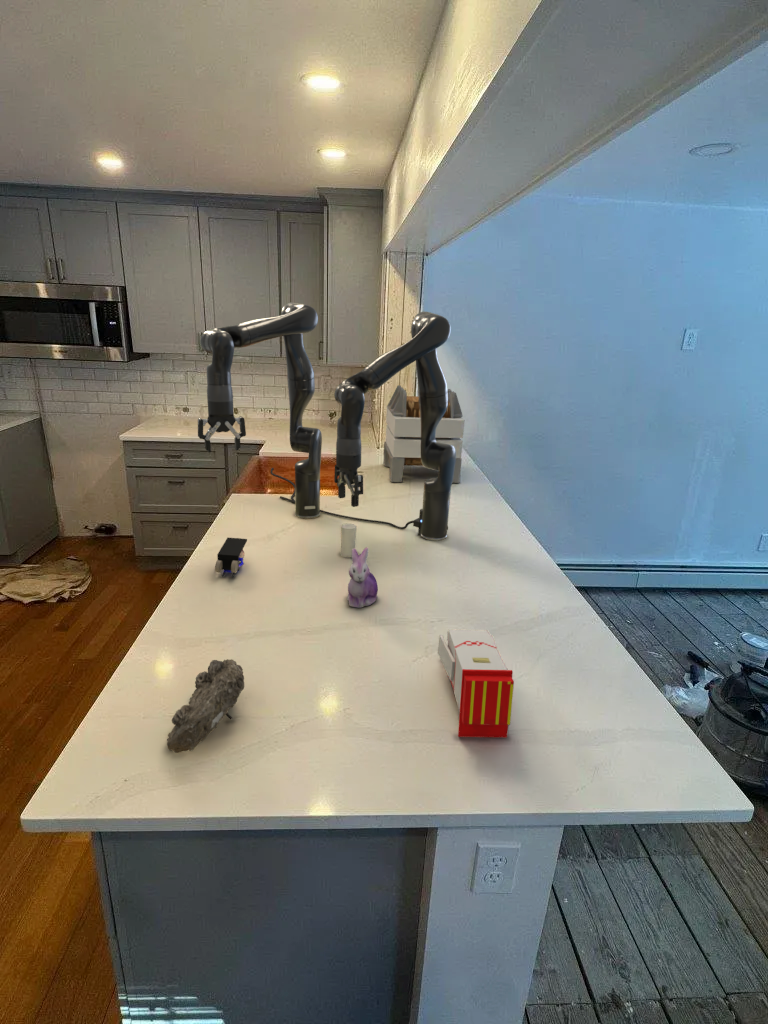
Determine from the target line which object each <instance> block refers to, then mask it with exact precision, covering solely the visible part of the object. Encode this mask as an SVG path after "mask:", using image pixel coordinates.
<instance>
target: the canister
mask: <svg viewBox="0 0 768 1024" xmlns="http://www.w3.org/2000/svg"><path fill="white" fill-rule="evenodd" d="M356 544H357V525H356V524H355V523H352V522H351V523H349V522H347V523H343V524H341V525H340V549H339V550H340V556H341V557H343V558H352V549H354V548H355V549H356V548H357V545H356ZM356 550H357V549H356Z"/></svg>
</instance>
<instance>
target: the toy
mask: <svg viewBox="0 0 768 1024" xmlns="http://www.w3.org/2000/svg"><path fill="white" fill-rule="evenodd" d="M446 640H447V643H446V641H445V639H444V636H443V635H442V634H439V637H438V646H437V656H438V657H439V659H440V661H441V663H442V666H443V668H444V670H445V672H446V674H447V677H448V679H449V681H450V684H451V687H452V690H453V693H454V697H455V701H456V705H457V708H458V711H459V714H458V715H459V716H458V730H457V731H458V732H457V737H458V738H508V731H509V726H510V725H511V717H512V707H513V697H514V696H513V695H514V684H515V680H514V679H513V673H514V671H513V670H512V669H508V667H507V665H506V662H505V661H504V659H503V658H502V655H501V653H500V651H499V649H498V647H497V643H496V639H495V637H494V635H493V634H491V632H490V631H489V629H467V628H466V629H465V628H463V629H461V628H460V629H459V628H448V630H447V639H446Z"/></svg>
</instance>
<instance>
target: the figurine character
mask: <svg viewBox="0 0 768 1024" xmlns="http://www.w3.org/2000/svg"><path fill="white" fill-rule="evenodd" d="M247 542H248V538H240V537H226V539H225V541H224V543H223V544H222V546H221V547H220V549H219V551H218V552H217V560H216V562H215V564H214V572H215V573H221V577H222V578H224V577H225V576H226V574H227V573H230V574H231V573H232V574H231V578H234V577H235V575H236V573H237V572H239V571H240V567H242V566H243V565H244V564H245V562H244V558H245V551H244V547H245V546H246V544H247Z"/></svg>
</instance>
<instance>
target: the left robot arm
mask: <svg viewBox="0 0 768 1024" xmlns="http://www.w3.org/2000/svg"><path fill="white" fill-rule="evenodd" d="M318 323H319V317H318V312H317V310H316V309H315V308H314V307H313V306H311V305H309V304H306V303H300V302H293V301H292V302H291V301H290V302H287V303H285V304H284V305H283V307H282V309H281V313H280V315H277V316H271V317H270V316H269V317H263V318H261V317H260V318H253V319H250V320H246V321H242V322H239V323H236V324H233V325H226V326H220V327H215V328H211V329H207V330H205V331H204V332H203V333H202V334H201V337H200V340H199V343H200V347H201V348H202V350H203V351H204V352H206V353H207V354H210V355H212V357H211V363H208V364H207V366H206V383H207V384H206V395H207V396H206V400H207V414H208V416H207V418H201V417H198V418H197V437H198V438H199V439H200V440H204V449H205V450H206V451H207V453H211V452H212V447H211V446H212V445H211V440H210V439H212V436H213V435H215V433H228V432H229V431H230V432H231V434H232V435H233V436H234V450H235V451H239V450H240V449H241V438H243V437H246V436H247V432H246V431H247V430H246V421H245V417H243V416H241V415H240V416H237V417H235V414H234V413H235V412H234V392H233V387H232V372H231V371H232V370H231V369H232V365H233V361H234V354H235V348H238V349H239V348H241V349H242V348H247V347H250V346H254V345H256V344H260V343H263V342H267V341H269V340H273V339H276V338H281V337H283V342H284V351H285V361H286V362H285V363H286V378H287V390H288V391H287V392H288V401H289V446H290V449H291V450H292V451H294V452H296V453H304V454H308V458H306V459H302V460H299V461H297V462H296V463H295V464H294V482H292V480H290V479H288V478H286V477H284V476H281V475H278V474H275V473H274V470H275V469H274V467H271V468H270V475H272V476H273V477H276V478H279V479H281V480H283V481H286V482H287V483H289V484H291V485H292V486H293V493H291V496H290V499H291V500H294V501H295V503H294V509H295V510H294V511H295V512H294V515H295V517H297V518H300V519H305V520H306V519H315V518H318V517H320V516H321V512H320V510H321V464H322V448H323V433H322V430H321V429H319V428H317V427H308V426H303V416H304V413H305V410H306V408H307V407H308V405H309V404H310V402H311V400H312V399H313V397H314V395H315V392H316V385H315V384H316V382H315V370H314V368H313V365H312V363H311V361H310V359H309V356H308V354H307V351H306V349H305V344H304V336H303V334H309V333H311V332H313V331H314V330H315V329H316V327H317V326H318ZM235 423H237V424H238V425H239V432H237V430H236V429H235V428H234V427H233V426H234V425H235ZM206 424H208V425H209V428H208V429H207V431H206V433H205V434H204V427H205V426H206Z"/></svg>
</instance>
